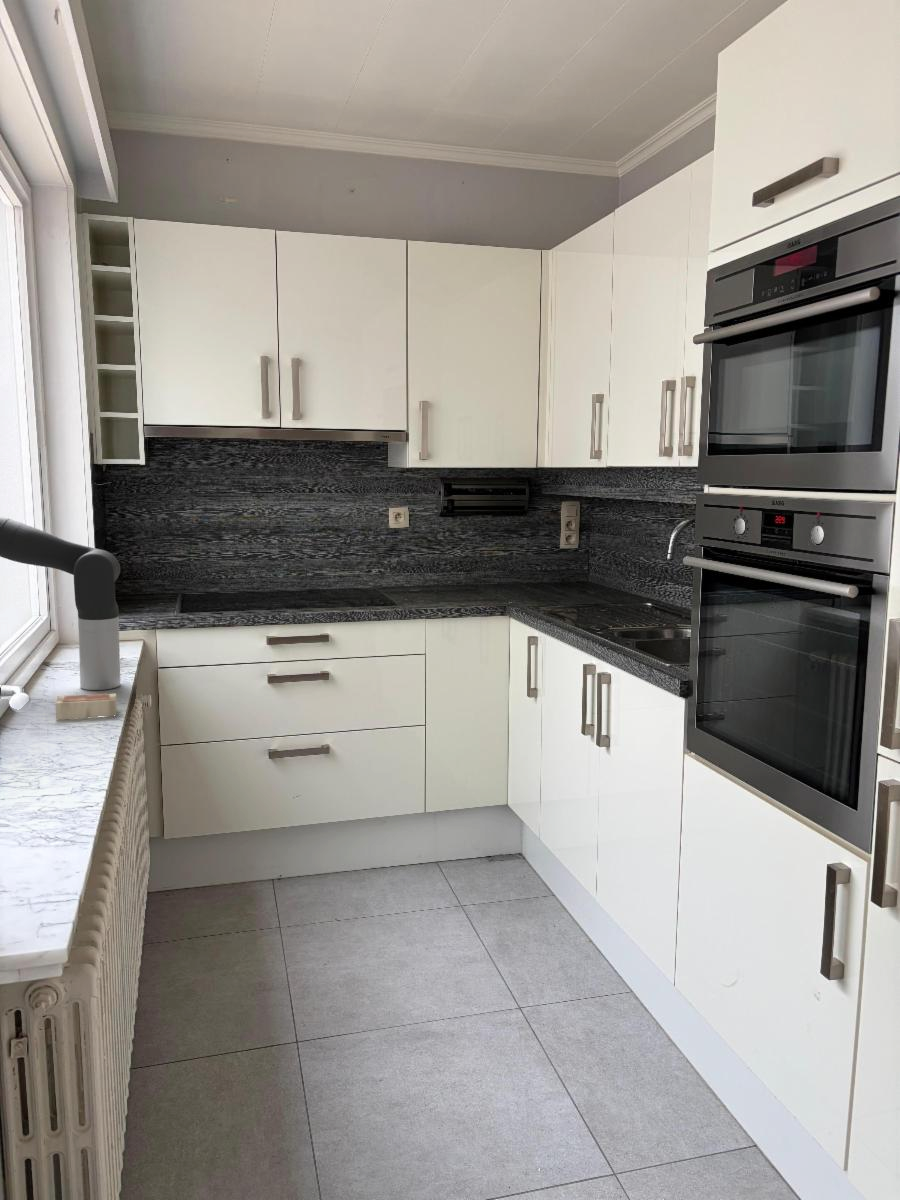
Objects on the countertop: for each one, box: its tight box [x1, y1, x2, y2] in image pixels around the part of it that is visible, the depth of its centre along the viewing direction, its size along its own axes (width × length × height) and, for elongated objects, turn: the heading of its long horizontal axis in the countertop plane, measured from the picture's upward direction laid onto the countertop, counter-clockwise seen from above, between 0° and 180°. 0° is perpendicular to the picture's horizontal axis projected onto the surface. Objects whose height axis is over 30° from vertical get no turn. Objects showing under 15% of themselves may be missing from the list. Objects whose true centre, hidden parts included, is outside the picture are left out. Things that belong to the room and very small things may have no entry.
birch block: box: [55, 692, 118, 720], centre depth 201 cm, size 6×4×12 cm
